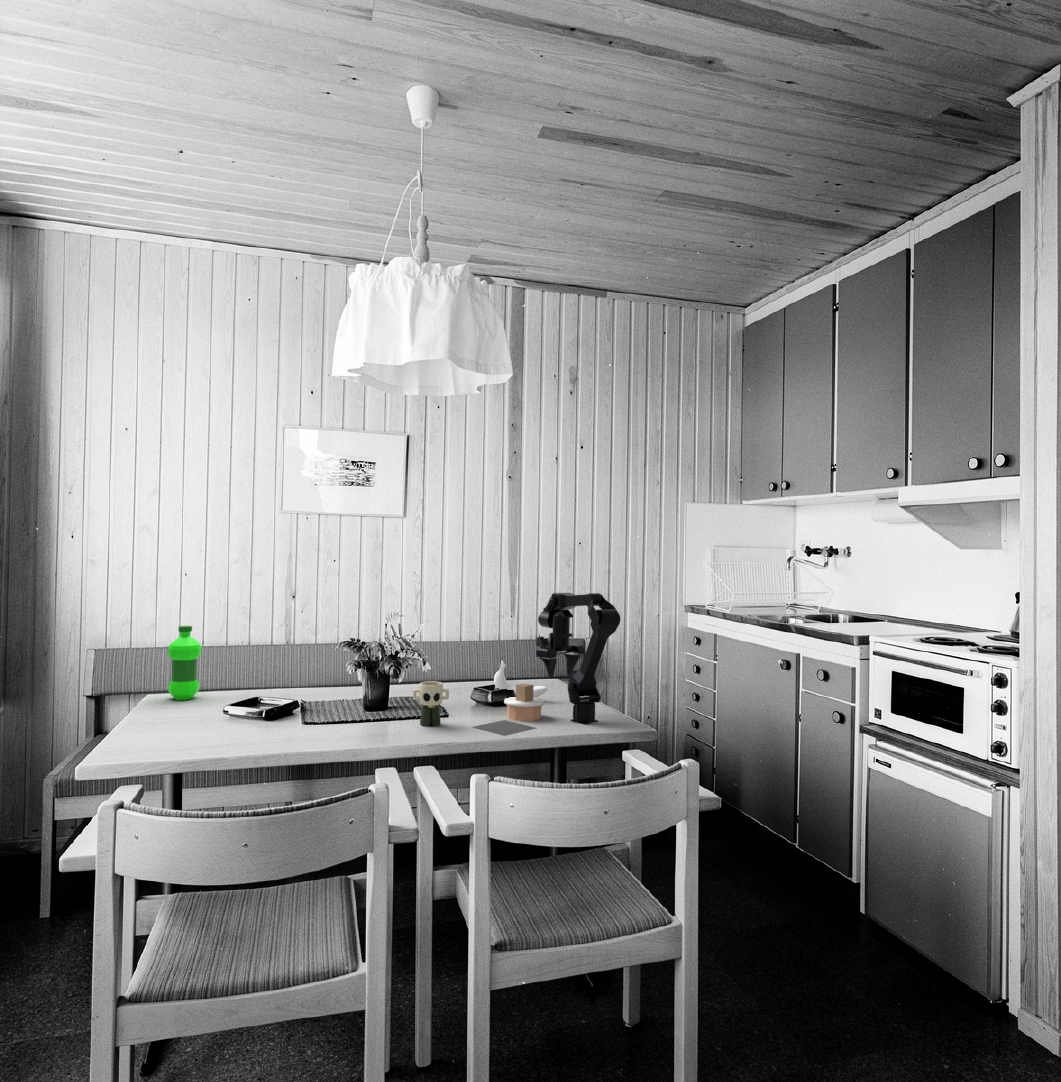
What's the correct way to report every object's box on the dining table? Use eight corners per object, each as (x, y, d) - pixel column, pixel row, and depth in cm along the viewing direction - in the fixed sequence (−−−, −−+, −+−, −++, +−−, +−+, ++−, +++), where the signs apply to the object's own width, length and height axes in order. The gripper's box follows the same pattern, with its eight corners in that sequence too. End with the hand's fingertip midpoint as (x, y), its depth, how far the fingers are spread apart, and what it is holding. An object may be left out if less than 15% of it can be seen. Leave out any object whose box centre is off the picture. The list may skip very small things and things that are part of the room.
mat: (536, 729, 235) (536, 727, 235) (504, 737, 225) (504, 735, 225) (504, 721, 244) (504, 720, 244) (471, 728, 234) (471, 727, 234)
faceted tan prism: (547, 718, 250) (548, 703, 250) (524, 723, 242) (525, 707, 242) (523, 713, 257) (523, 698, 257) (500, 718, 249) (500, 702, 249)
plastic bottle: (166, 696, 271) (168, 625, 271) (199, 694, 275) (201, 624, 275) (166, 702, 261) (168, 628, 262) (200, 700, 266) (202, 627, 266)
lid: (552, 703, 250) (553, 685, 250) (525, 708, 240) (525, 690, 240) (523, 697, 259) (524, 679, 259) (495, 702, 249) (496, 684, 249)
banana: (547, 702, 276) (548, 661, 276) (493, 702, 274) (494, 660, 274) (545, 699, 281) (546, 659, 281) (493, 699, 279) (494, 658, 279)
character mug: (412, 729, 232) (414, 685, 232) (411, 723, 239) (412, 681, 239) (449, 728, 234) (450, 685, 234) (446, 722, 241) (447, 680, 241)
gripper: (561, 626, 272) (560, 670, 272) (524, 629, 258) (523, 676, 258) (585, 629, 264) (584, 675, 264) (549, 632, 250) (548, 681, 250)
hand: (560, 676), depth 259 cm, fingers open, 9 cm apart
